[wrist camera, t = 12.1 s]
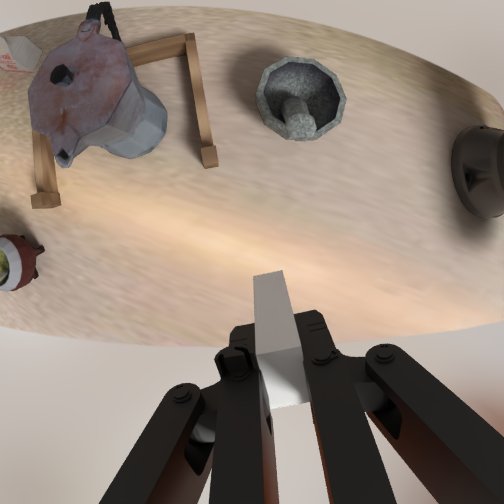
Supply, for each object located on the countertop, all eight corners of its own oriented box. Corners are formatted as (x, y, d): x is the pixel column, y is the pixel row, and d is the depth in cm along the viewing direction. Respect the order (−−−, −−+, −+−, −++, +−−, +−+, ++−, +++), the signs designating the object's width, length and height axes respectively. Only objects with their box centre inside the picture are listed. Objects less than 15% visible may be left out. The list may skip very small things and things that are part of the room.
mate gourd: (6, 243, 35) (-64, 258, 20) (42, 220, 35) (-30, 228, 20) (23, 291, 36) (-42, 323, 21) (61, 272, 36) (-5, 302, 22)
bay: (218, 166, 37) (218, 159, 32) (51, 208, 35) (32, 208, 30) (197, 45, 34) (194, 26, 29) (42, 92, 33) (25, 81, 28)
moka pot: (94, 184, 35) (-5, 168, 16) (104, 72, 33) (36, -7, 14) (166, 181, 36) (111, 154, 17) (173, 65, 34) (143, -33, 15)
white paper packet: (15, 50, 31) (-17, 26, 21) (42, 51, 31) (11, 24, 22) (5, 70, 31) (-30, 49, 21) (32, 72, 32) (-3, 48, 22)
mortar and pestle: (264, 69, 36) (281, 21, 24) (332, 93, 37) (371, 56, 25) (238, 147, 37) (246, 120, 25) (311, 170, 38) (348, 155, 26)
